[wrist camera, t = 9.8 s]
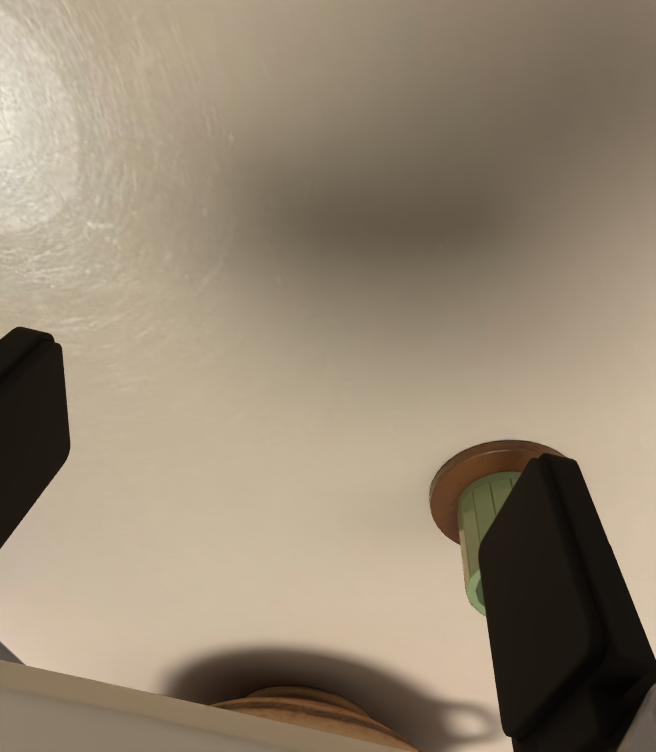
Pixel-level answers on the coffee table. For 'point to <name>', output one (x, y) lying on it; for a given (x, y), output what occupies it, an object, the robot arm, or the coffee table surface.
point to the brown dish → (475, 476)
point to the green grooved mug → (480, 525)
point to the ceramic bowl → (316, 714)
